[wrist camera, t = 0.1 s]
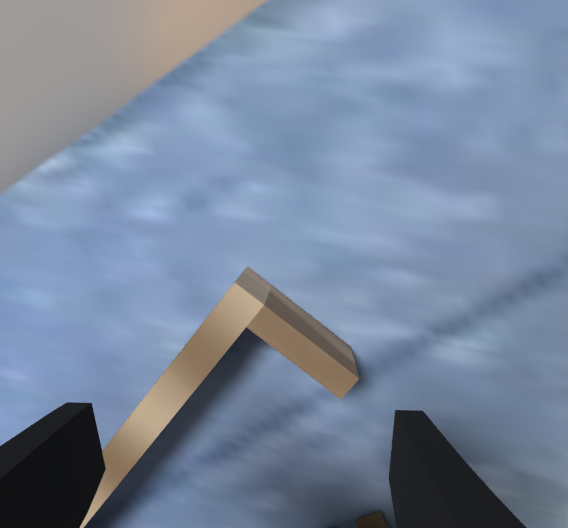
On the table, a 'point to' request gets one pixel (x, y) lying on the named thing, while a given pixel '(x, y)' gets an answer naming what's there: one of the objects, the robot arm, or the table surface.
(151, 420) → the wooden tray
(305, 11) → the table surface
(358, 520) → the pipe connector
